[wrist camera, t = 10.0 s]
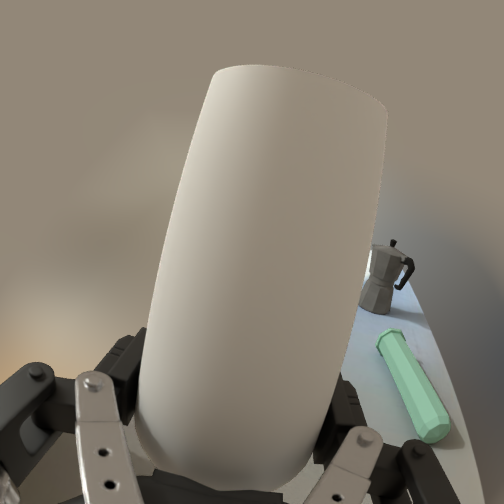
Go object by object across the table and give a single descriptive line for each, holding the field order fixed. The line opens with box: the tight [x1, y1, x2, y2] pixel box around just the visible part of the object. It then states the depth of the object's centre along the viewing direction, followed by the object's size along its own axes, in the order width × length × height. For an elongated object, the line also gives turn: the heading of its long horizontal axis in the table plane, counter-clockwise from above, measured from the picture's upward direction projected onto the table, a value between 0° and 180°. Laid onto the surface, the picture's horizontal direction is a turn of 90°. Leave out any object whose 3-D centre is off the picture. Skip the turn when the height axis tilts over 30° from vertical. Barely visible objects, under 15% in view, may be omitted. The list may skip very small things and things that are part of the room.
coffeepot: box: [358, 240, 415, 314], centre depth 74 cm, size 15×9×18 cm, turn 21°
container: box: [375, 328, 451, 444], centre depth 42 cm, size 6×6×25 cm
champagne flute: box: [134, 65, 388, 492], centre depth 11 cm, size 7×7×24 cm
